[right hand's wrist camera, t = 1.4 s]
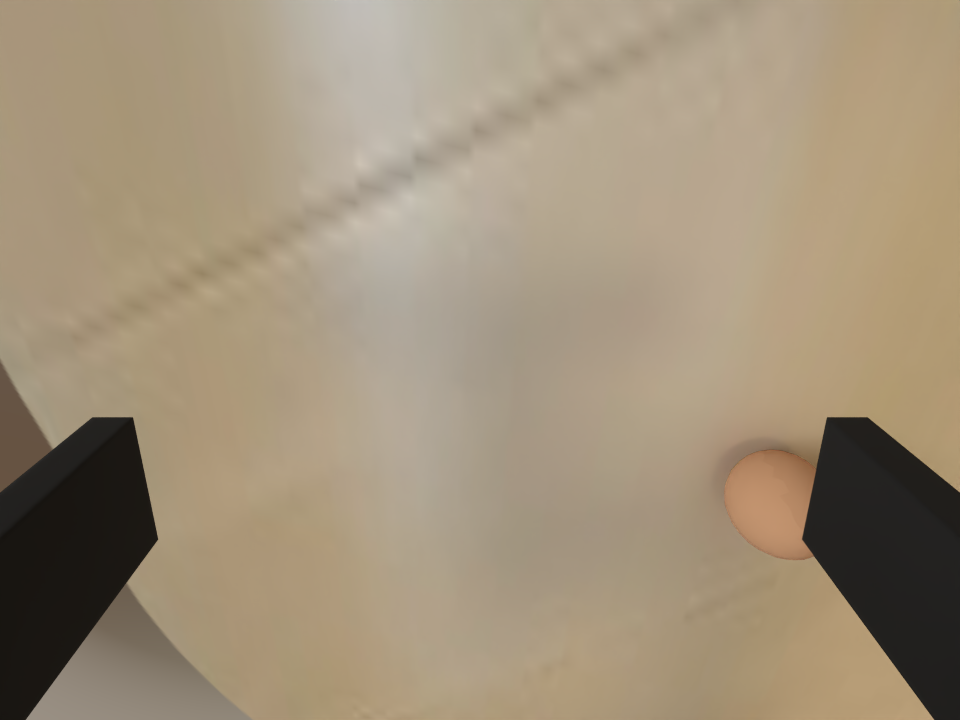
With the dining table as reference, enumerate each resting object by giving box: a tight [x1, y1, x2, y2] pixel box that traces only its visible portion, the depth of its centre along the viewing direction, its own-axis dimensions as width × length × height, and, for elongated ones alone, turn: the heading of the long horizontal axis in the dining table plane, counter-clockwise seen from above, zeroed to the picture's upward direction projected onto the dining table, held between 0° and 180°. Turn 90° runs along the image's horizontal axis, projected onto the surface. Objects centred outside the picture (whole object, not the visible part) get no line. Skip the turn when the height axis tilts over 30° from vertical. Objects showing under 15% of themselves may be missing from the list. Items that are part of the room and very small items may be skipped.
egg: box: [724, 450, 816, 560], centre depth 41 cm, size 6×6×8 cm
